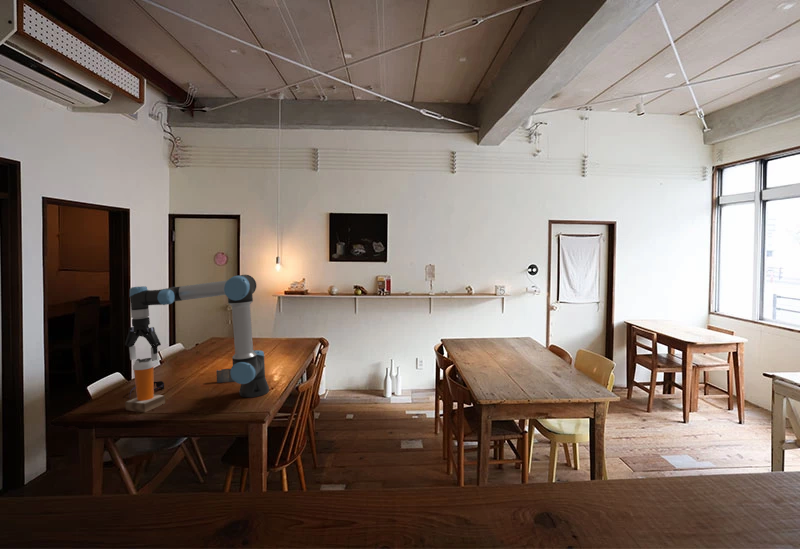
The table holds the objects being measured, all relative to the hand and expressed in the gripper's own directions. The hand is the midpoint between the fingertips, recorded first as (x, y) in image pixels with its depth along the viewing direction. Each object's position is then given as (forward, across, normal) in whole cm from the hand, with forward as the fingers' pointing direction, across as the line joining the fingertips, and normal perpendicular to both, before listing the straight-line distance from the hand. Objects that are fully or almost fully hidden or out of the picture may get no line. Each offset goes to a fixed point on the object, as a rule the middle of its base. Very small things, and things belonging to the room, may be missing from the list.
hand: (143, 359), depth 208 cm
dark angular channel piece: (+25, -12, -44) cm, 52 cm away
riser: (+24, +1, 0) cm, 24 cm away
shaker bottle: (+20, +1, 0) cm, 20 cm away
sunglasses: (+24, +18, -16) cm, 34 cm away
